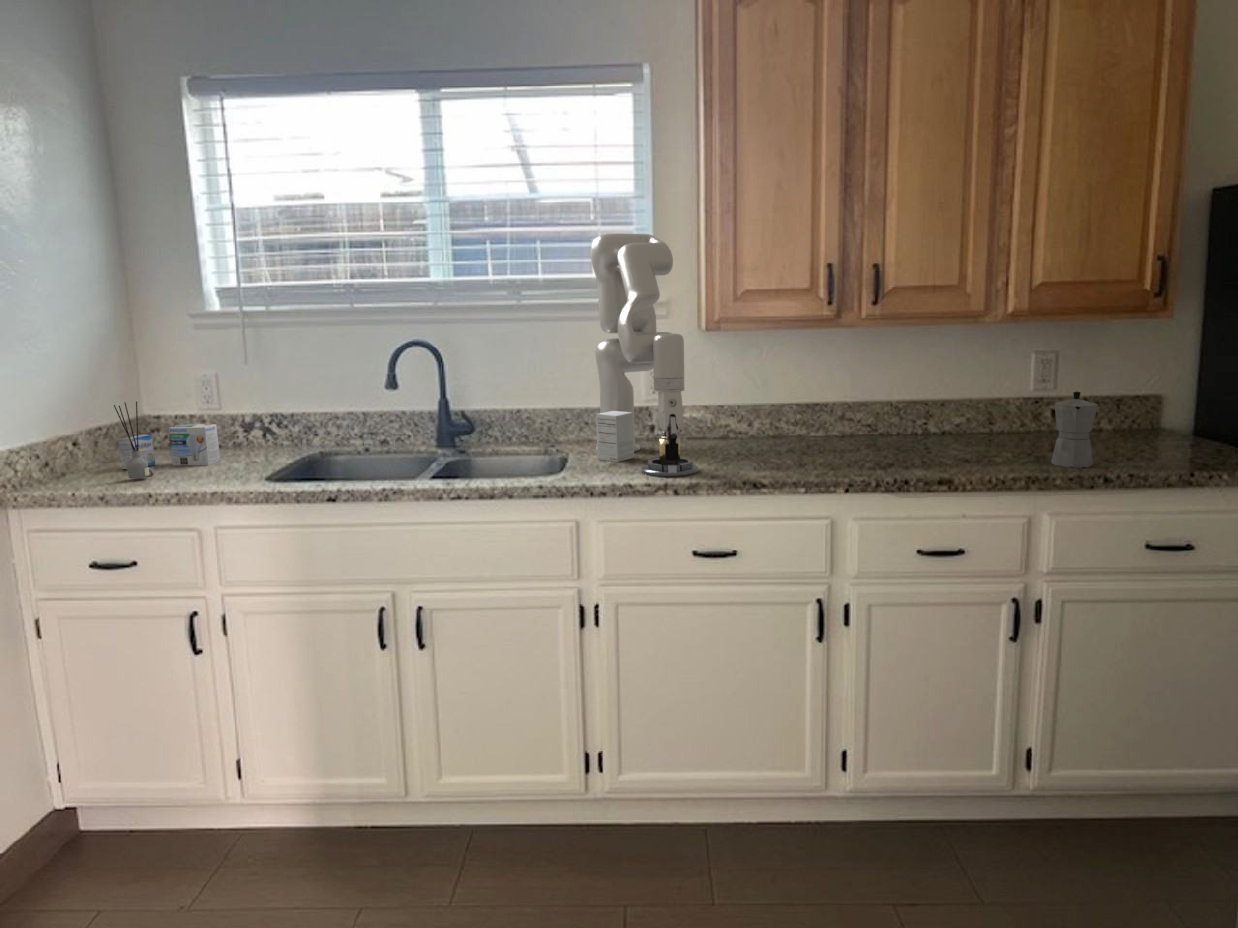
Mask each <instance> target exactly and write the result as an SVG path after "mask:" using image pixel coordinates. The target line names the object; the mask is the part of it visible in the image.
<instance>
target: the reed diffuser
mask: <svg viewBox="0 0 1238 928" xmlns="http://www.w3.org/2000/svg"><path fill="white" fill-rule="evenodd" d="M123 403H124V406H125V410H126V414H127V418H128V422H129V426H130V430H131V433H132V436H133V438H134V436H135V433H134V431H133V427H132V423H131V419H130V413H129V411H128V408H127V407H128V406H127V403H126V402H123ZM113 407H114V409H115V411H116V413H117V416H118V418H119V420H120V422H121V424H122V426H123V428H124V430H125V433H126V435H127V437H129V440H130V442H131V446H132V449H133V451H132V459H130V460H129V461H128V462H127V470H126V471H127V475H128V478H129V479H142V478H143V479H144V478H147V477H149V476H151V475H153V476H154V475H155V474H156V471H155V470H154V468H153V467H152V468H151V467H148V462H147V461H146V460H145V459H143V458H141V456H140V450H139V449H138V435H139V427H138V426H139V425H138V424H139V422H138V421H139V419H138V418H139V417H138V401H135V409H136V410H135V415H136V416H135V419H136V436H137V445H136V441H135V438H134V442H135V446H136V450H135V448H134V446H133V443H132V441H131V439H130V437H131V436H130V434H129V433H130V432H129V430H128V427H127V424H126V420H125V418H124V413H123V411H122V408H121V406H120V405H118V408H119V411H120V413H119V411H118V409H117V407H116V405H115V404H113ZM120 414H121V415H120ZM121 417H122V418H121Z"/></svg>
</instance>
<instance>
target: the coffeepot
mask: <svg viewBox="0 0 1238 928" xmlns="http://www.w3.org/2000/svg"><path fill="white" fill-rule="evenodd" d="M1072 394H1073V398H1071V399H1067V400H1063V401H1059V402H1055V403H1054V411H1055V412H1054V413H1055V422H1056V423H1055V424H1056V430H1057V431H1058V437H1057V439H1056V441H1055V446H1054V449H1053V453H1052V457H1051V460H1050V463H1051V464H1052V465H1053V464H1054V466H1056V467H1061V466H1062V467H1061V468H1069V467H1073V468H1074V469H1083V468H1082V467H1086V468H1090V466H1091V467H1092V466H1093V465H1094V461H1093V450H1092V442H1091V439H1090V433H1091V432H1092V431H1093V427H1094V423H1095V418H1096V416H1097V415H1096V414H1097V410H1098V407H1099V404H1098V403H1094V402H1090V401H1088V400H1083V399H1080V397H1081V394H1082V393H1081V392H1080V391H1073V392H1072ZM1073 468H1072V469H1073Z"/></svg>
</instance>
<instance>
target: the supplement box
mask: <svg viewBox="0 0 1238 928" xmlns="http://www.w3.org/2000/svg"><path fill="white" fill-rule="evenodd" d="M595 414H596V415H595V417H596V418H595V419H596V421H595V422H596V446H597V450H596V452H597V460H598V461H604V460H605V461H604V462H612V461H613V462H614V463H620V462H623V461H627V460H630V459H634V458H635V452H634V442H635V430H634V431H633V413H632V412H622V411H610V412H604V413H595Z"/></svg>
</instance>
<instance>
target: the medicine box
mask: <svg viewBox="0 0 1238 928" xmlns="http://www.w3.org/2000/svg"><path fill="white" fill-rule="evenodd" d="M134 438H135V441H136V445H137V435H134ZM134 438H133V435H132V436H130V439H131V441H132V443H133V446H134V448H135V450H136V446H135V442H134ZM117 443H118V451H119V457H120V459H119V460H120V463H121V464H120V465H121V469H127V462H128V461H129V460H130V459H132V451H133V449H132V446H131V442H130V440H129V437H128V436H127V437H122V438H119V439H117ZM138 449H139V450H140V456H141V458H143V459H145V460H146V461H147V462H148V466H150V467H153V466H155V465H156V459H155V450H154V443H153V435H152V434H138ZM152 465H153V466H152Z"/></svg>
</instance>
